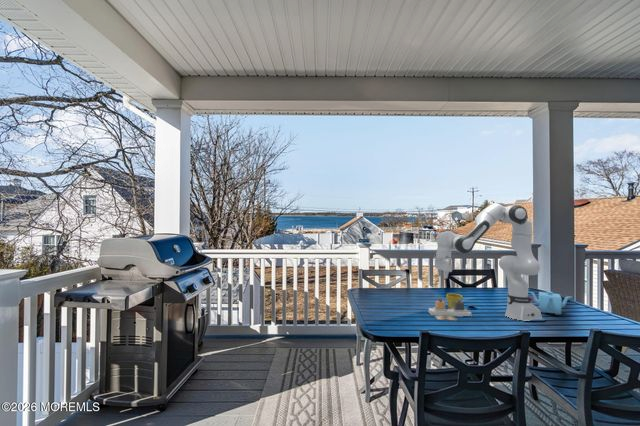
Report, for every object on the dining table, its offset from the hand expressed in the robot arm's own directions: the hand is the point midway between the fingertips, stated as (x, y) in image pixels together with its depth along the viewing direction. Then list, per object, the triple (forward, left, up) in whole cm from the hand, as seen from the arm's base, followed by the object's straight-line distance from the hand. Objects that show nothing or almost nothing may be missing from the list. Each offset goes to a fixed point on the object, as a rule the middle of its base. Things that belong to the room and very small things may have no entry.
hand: (442, 277), depth 214 cm
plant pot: (-14, -16, -25) cm, 33 cm away
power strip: (-6, -3, -24) cm, 25 cm away
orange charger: (0, -3, -22) cm, 22 cm away
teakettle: (-77, -16, -25) cm, 82 cm away
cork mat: (-1, +6, -24) cm, 25 cm away
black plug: (-12, -3, -22) cm, 25 cm away
